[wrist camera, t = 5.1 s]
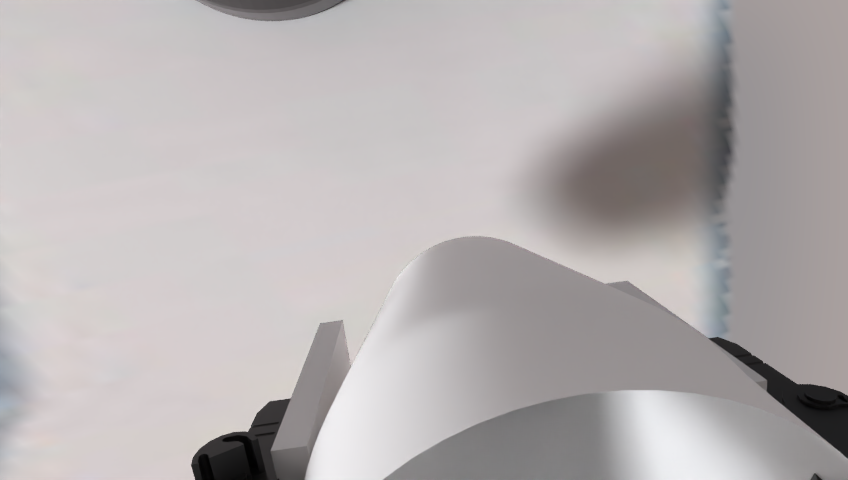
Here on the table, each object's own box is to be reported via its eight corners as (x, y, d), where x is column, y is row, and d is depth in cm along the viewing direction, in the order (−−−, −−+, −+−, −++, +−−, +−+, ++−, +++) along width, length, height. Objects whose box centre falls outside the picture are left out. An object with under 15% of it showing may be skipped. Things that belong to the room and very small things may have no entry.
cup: (541, 159, 17) (852, 247, 5) (623, 373, 19) (974, 771, 7) (306, 265, 17) (119, 560, 6) (412, 462, 20) (430, 966, 8)
